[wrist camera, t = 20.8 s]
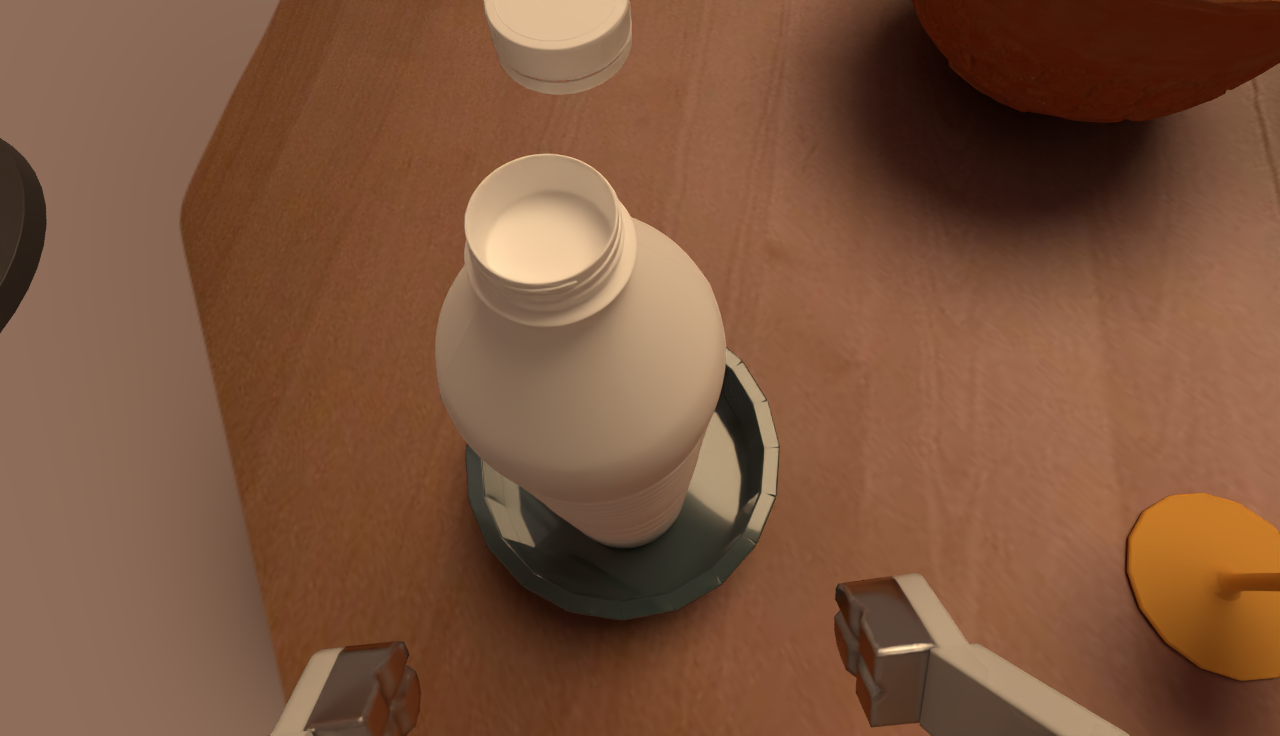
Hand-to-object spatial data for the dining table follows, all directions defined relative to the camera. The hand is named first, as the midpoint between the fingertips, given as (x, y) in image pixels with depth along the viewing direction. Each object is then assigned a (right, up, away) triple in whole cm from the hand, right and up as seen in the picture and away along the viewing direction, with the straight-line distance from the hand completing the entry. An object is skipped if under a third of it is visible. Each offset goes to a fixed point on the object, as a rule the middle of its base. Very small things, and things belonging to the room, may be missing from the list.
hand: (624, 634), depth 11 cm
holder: (0, -1, +22) cm, 22 cm away
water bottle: (-1, 0, +21) cm, 21 cm away
